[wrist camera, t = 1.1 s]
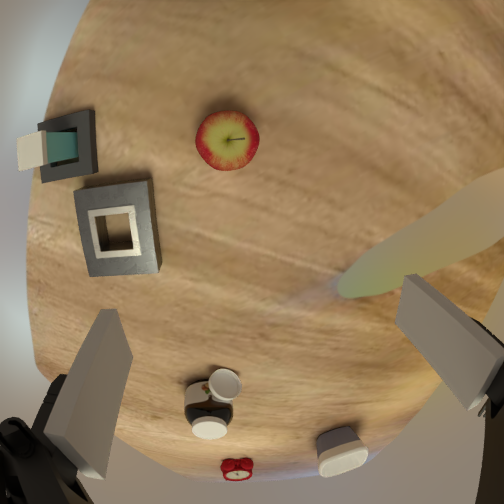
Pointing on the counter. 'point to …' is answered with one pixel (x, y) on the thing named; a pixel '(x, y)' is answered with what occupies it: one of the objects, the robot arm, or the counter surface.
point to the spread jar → (212, 403)
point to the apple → (227, 140)
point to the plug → (46, 148)
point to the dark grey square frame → (85, 146)
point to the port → (141, 223)
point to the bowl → (340, 452)
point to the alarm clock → (237, 469)
